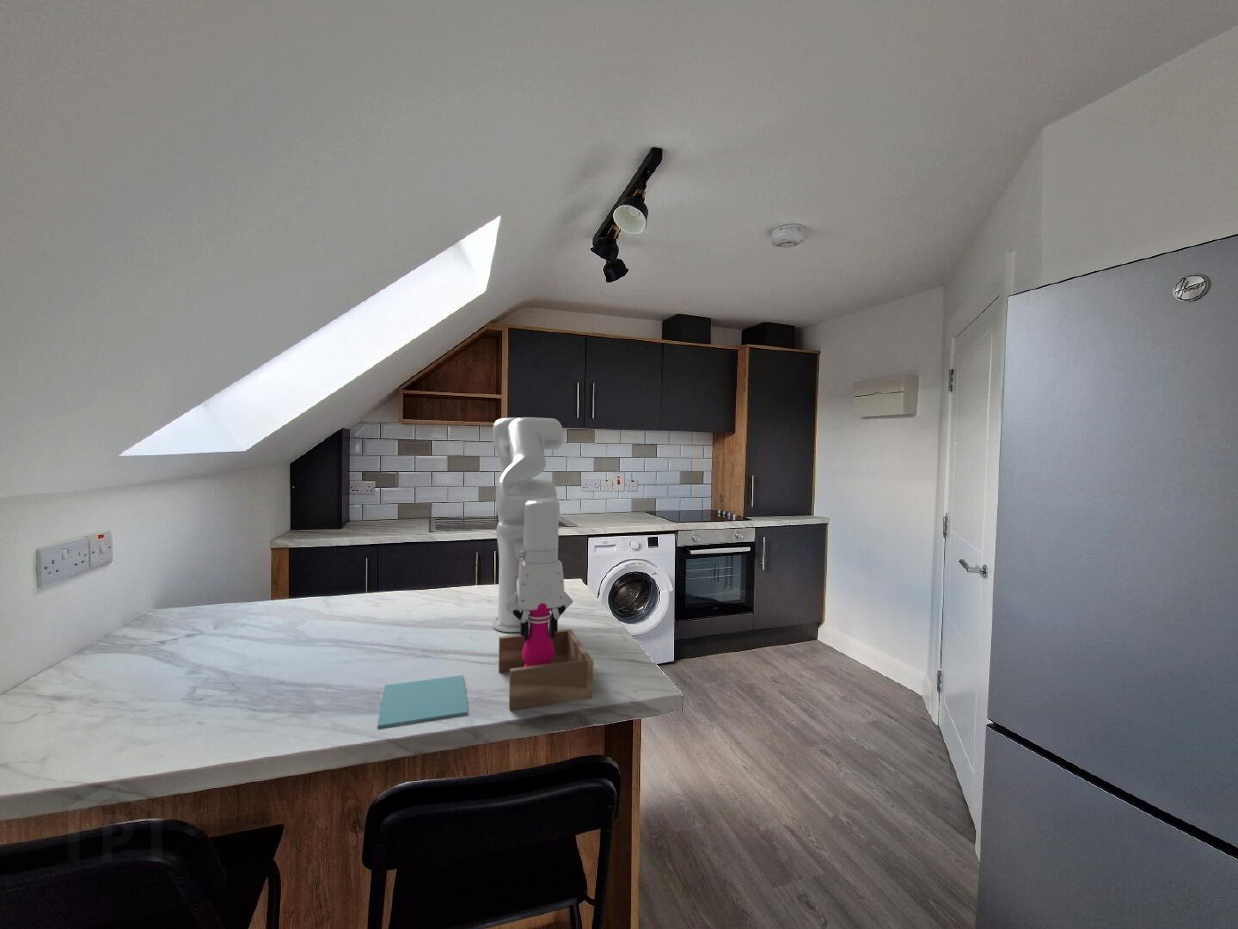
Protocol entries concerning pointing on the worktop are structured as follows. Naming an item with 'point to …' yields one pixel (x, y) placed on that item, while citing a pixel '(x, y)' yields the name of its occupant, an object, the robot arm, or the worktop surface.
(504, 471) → the robot arm
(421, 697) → the mat
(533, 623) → the pepper mill
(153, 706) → the worktop surface
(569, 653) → the open side box
